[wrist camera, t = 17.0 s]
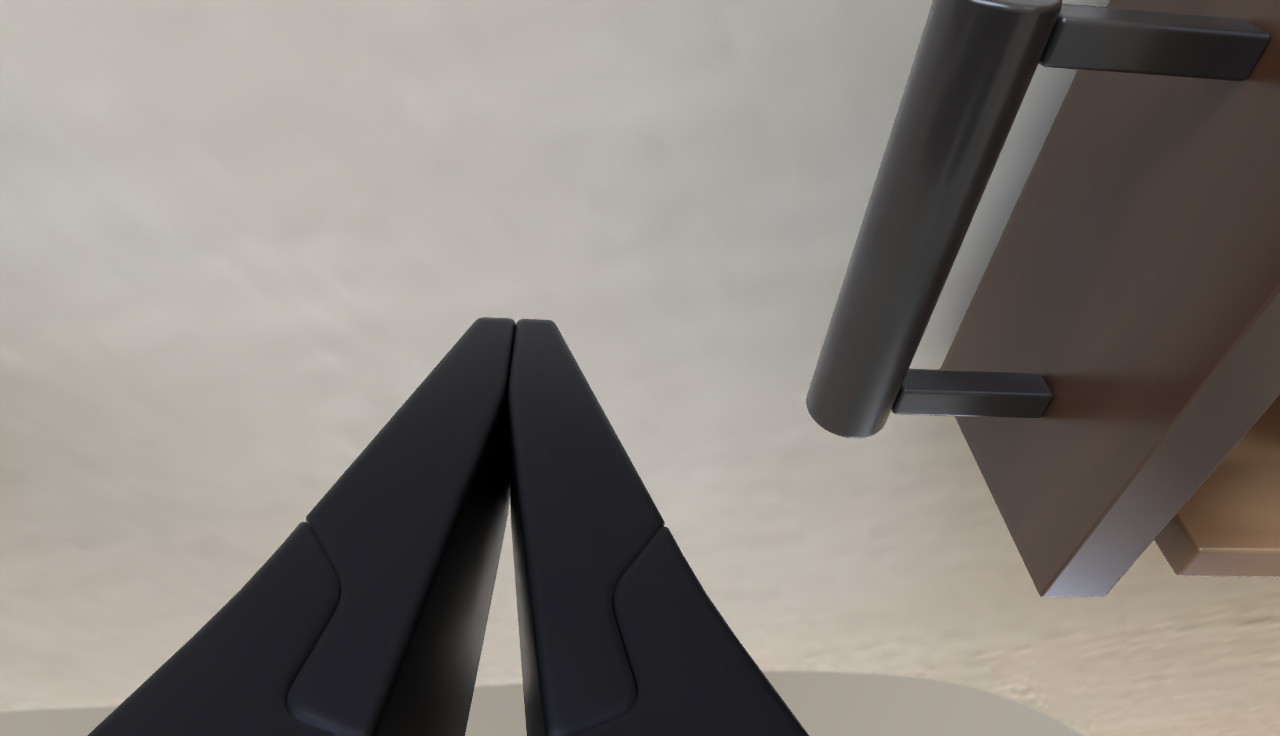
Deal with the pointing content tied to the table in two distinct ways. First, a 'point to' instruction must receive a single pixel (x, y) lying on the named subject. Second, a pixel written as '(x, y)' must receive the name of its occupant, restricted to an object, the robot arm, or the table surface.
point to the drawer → (1088, 282)
